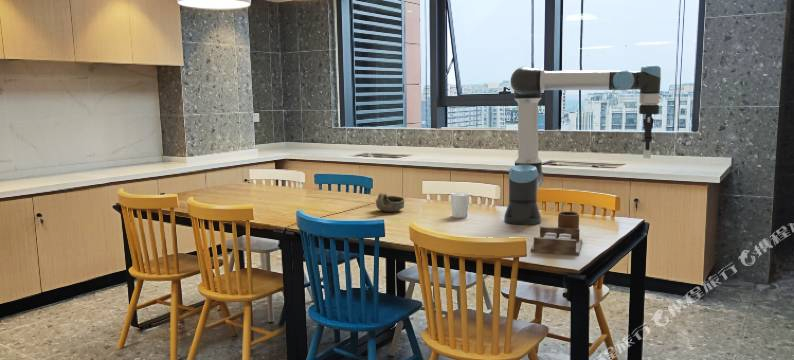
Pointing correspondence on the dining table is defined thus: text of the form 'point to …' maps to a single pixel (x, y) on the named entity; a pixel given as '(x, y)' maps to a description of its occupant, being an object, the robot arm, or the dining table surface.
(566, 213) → the mug
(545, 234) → the peg stand
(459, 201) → the white cup
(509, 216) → the robot arm
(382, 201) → the bowl
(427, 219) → the dining table surface
